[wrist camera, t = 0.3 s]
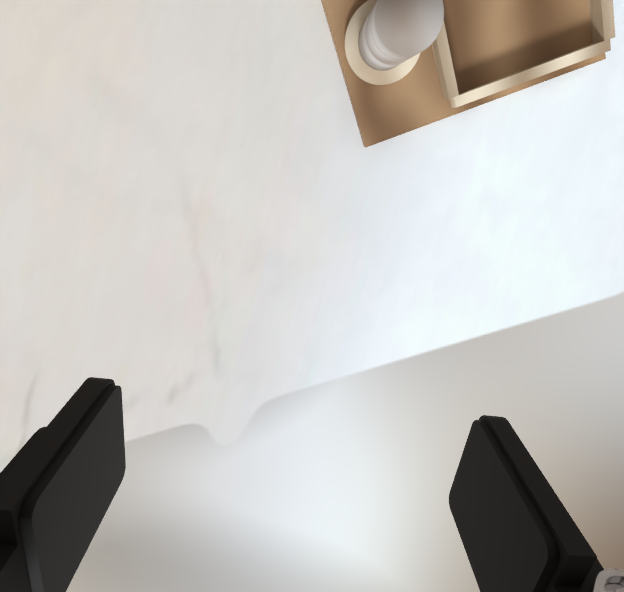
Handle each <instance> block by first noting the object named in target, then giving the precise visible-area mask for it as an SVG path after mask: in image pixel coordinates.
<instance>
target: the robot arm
mask: <svg viewBox="0 0 624 592" xmlns="http://www.w3.org/2000/svg"><path fill="white" fill-rule="evenodd" d="M124 473H125V447H124V428H123V410H122V392H121V387H120V386H116V385H115V383H114V380H112V379H103V378H93V377H90V378H88V379H87V380H86V381H85V382H84V383H83V384H82V385H81V387H80V388H79V389H78V390H77V391H76V392H75V394H74V395H73V396H72V397H71V398H70V400H69V401H68V402H67V403H66V404H65V406H64V407H63V408H62V409H61V410H60V412H59V413H58V414H57V415H56V416H55V418H54V419H53V420H52V421H51V422H50V424H49V425H48V426H47V427H42V428H40V429H39V430H38V431H37V432H36V433H34V435H33V436H32V437H31V438H30V439H29V440H28V442H27V443H26V444H25V445H24V446H23V447H22V449H21V450H20V451H19V452H18V453H17V454H16V456H15V457H14V458H13V459H12V460H11V461H10V463H9V464H8V465H7V466H6V467H5V468H4V470H3V471H2V472H1V473H0V592H66V590H67V588H68V586H69V584H70V582H71V580H72V578H73V576H74V574H75V572H76V570H77V568H78V566H79V564H80V562H81V560H82V558H83V556H84V555H85V553H86V551H87V549H88V547H89V545H90V543H91V541H92V539H93V537H94V535H95V533H96V531H97V529H98V527H99V525H100V523H101V521H102V519H103V517H104V515H105V513H106V511H107V509H108V507H109V505H110V503H111V501H112V499H113V497H114V495H115V494H116V491H117V490H118V488H119V486H120V484H121V482H122V479H123V476H124ZM449 505H450V509H451V512H452V515H453V517H454V520H455V523H456V526H457V528H458V531H459V534H460V537H461V539H462V542H463V545H464V548H465V550H466V553H467V556H468V559H469V561H470V564H471V567H472V570H473V572H474V575H475V578H476V580H477V583H478V586H479V589H480V592H624V571H623V570H619V569H605V570H604V569H603V567H602V566H601V564H600V563H599V561H598V559H597V556H596V554H595V553H594V552H593V550H592V548H591V547H590V545H589V544H588V542H587V541H586V539H585V538H584V536H583V535H582V533H581V532H580V530H579V529H578V527H577V526H576V524H575V522H574V521H573V520H572V518H571V516H570V515H569V513H568V512H567V510H566V509H565V507H564V506H563V504H562V503H561V501H560V500H559V498H558V497H557V495H556V494H555V492H554V490H553V489H552V487H551V486H550V484H549V483H548V481H547V480H546V478H545V477H544V475H543V474H542V472H541V471H540V469H539V468H538V466H537V465H536V463H535V462H534V460H533V458H532V457H531V456H530V454H529V452H528V451H527V449H526V448H525V447H524V445H523V443H522V442H521V440H520V439H519V437H518V436H517V434H516V433H515V431H514V429H513V428H512V426H511V425H510V423H509V422H508V420H506V418H503V417H496V416H485V415H484V416H481V417H480V418H479V420H475V421H474V422H473V424H472V427H471V430H470V433H469V436H468V439H467V442H466V445H465V448H464V451H463V454H462V457H461V460H460V463H459V466H458V469H457V472H456V475H455V478H454V482H453V484H452V487H451V490H450V494H449Z"/></svg>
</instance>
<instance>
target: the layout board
mask: <svg viewBox="0 0 624 592" xmlns="http://www.w3.org/2000/svg"><path fill="white" fill-rule="evenodd" d="M321 1H322V4H323V8H324V11H325V15H326V18H327V21H328V25H329V28H330V32H331V35H332V39H333V42H334V45H335V49H336V52H337V56H338V59H339V62H340V66H341V69H342V73H343V76H344V80H345V83H346V86H347V90H348V93H349V97H350V100H351V103H352V107H353V110H354V114H355V117H356V121H357V124H358V127H359V131H360V134H361V138H362V141H363V144H364V147H368V146H371V145H374V144H376V143H379V142H382V141H384V140H387V139H390V138H393V137H395V136H398V135H401V134H403V133H406V132H409V131H411V130H414V129H417V128H420V127H422V126H425V125H428V124H430V123H433V122H436V121H438V120H441V119H444V118H447V117H449V116H452V115H455V114H457V113H460V112H463V111H465V110H468V109H471V108H474V107H476V106H479V105H482V104H484V103H487V102H490V101H492V100H495V99H498V98H501V97H503V96H506V95H509V94H511V93H514V92H517V91H519V90H522V89H525V88H528V87H530V86H533V85H536V84H538V83H541V82H544V81H547V80H549V79H552V78H555V77H557V76H560V75H563V74H565V73H568V72H571V71H574V70H576V69H579V68H582V67H584V66H587V65H590V64H592V63H595V62H598V61H601V60H603V59H606V57H605V52H607V51H610V50H611V47H610V39H611V38H613V37H615V26H614V12H613V0H321Z"/></svg>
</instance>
